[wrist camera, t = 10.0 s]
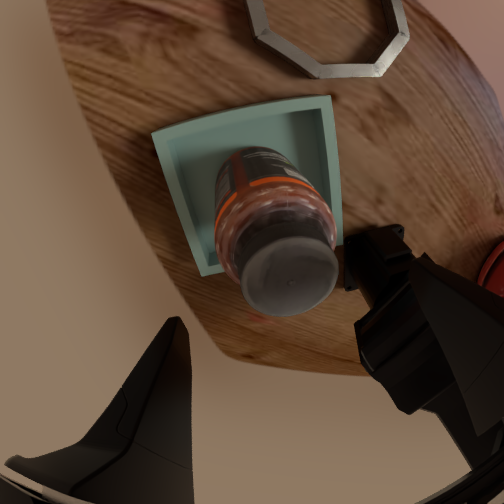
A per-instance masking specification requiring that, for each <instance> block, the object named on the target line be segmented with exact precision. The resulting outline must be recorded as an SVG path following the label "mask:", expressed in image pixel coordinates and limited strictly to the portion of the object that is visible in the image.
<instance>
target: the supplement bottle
mask: <svg viewBox="0 0 504 504" xmlns="http://www.w3.org/2000/svg"><path fill="white" fill-rule="evenodd" d="M214 231H215V232H214V242H215V250H216V254H217V257H218V260H219V262H220V264H221V266H222V268H223V270H224V271H225V272H226V273H227V275H228V276H229V277H230V278H231V279H232V280H233V281H235V282H236V283H237V284H239V285H240V287H241V291H242V294H243V296H244V298H245V300H246V301H247V302H248V304H249V305H250V306H252V307H253V308H254V309H255V310H257V311H259V312H261V313H264V314H266V315H272V316H280V317H281V316H284V317H286V316H292V315H297V314H300V313H303V312H306V311H308V310H310V309H312V308H314V307H315V306H317V305H318V304H320V303H321V302H322V301H323V300H324V299H325V298H326V297H327V296H328V295H329V294H330V293H331V292H332V290H333V288H334V286H335V284H336V281H337V278H338V275H339V270H338V269H339V265H338V260H337V257H336V255H335V253H334V249H335V245H336V239H337V228H336V223H335V219H334V217H333V214H332V212H331V210H330V208H329V207H328V205H327V203H326V202H325V201H324V199H323V198H322V197H321V196H320V195H319V193H318V192H317V191H316V189H315V188H314V187H313V186H312V185H311V184H310V183H309V182H308V180H307V179H306V178H305V177H304V176H303V175H302V174H301V173H300V172H299V171H298V169H297V168H296V167H295V166H294V165H293V164H292V163H291V162H290V161H289V160H288V159H287V158H286V157H285V156H283V155H282V154H281V153H279V152H277V151H276V150H273V149H271V148H267V147H262V146H253V147H248V148H244V149H242V150H239V151H237V152H235V153H234V154H233V155H231V156H230V157H228V158H227V160H226V161H225V162H224V163H223V165H222V166H221V168H220V170H219V172H218V175H217V179H216V184H215V222H214Z"/></svg>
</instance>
